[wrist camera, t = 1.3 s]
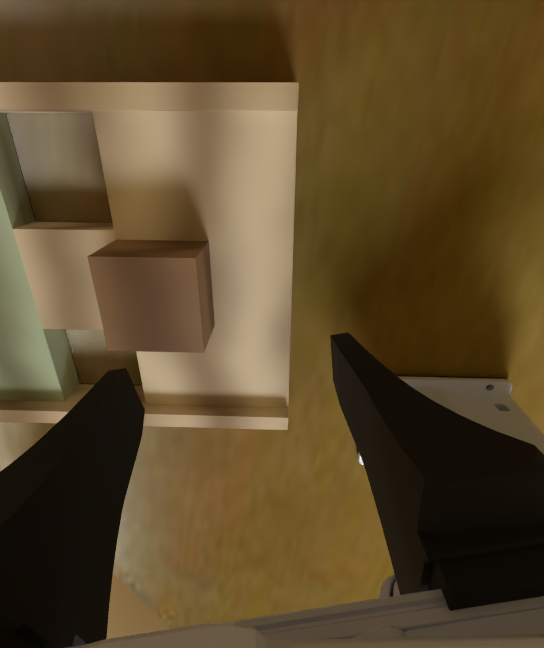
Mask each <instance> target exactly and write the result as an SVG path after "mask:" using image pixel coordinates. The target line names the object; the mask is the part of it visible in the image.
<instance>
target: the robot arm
mask: <svg viewBox="0 0 544 648" xmlns="http://www.w3.org/2000/svg"><path fill="white" fill-rule="evenodd" d="M331 351H332V368H333V381H334V385H335V388H336V392H337V396H338V399H339V403H340V406H341V409H342V411H343V414H344V416H345V419H346V421H347V424H348V426H349V429H350V431H351V433H352V436H353V438H354V441H355V443H356V446H357V448H358V461H359V463H360V464H362V465H364V466H365V469H366V472H367V476H368V479H369V482H370V486H371V489H372V493H373V496H374V499H375V503H376V507H377V510H378V514H379V517H380V521H381V524H382V528H383V532H384V535H385V539H386V543H387V546H388V550H389V554H390V557H391V561H392V565H393V569H394V573H395V574H393V575H391V576H389V577H388V578H387V579H386V580H385V581H384V582H383V585H382V587H381V592H380V598H379V599H373V600H366V601H360V602H354V603H347V604H341V605H334V606H328V607H322V608H315V609H309V610H303V611H296V612H290V613H284V614H277V615H271V616H264V617H258V618H252V619H245V620H239V621H233V622H222V623H207V624H201V625H194V626H188V627H182V628H175V629H169V630H163V631H157V632H150V633H143V634H137V635H131V636H125V637H118V638H112V639H106V636H107V623H108V611H109V601H110V592H111V582H112V574H113V566H114V559H115V551H116V544H117V537H118V531H119V525H120V519H121V513H122V508H123V504H124V500H125V495H126V492H127V488H128V485H129V481H130V477H131V474H132V470H133V467H134V463H135V460H136V456H137V452H138V448H139V445H140V441H141V437H142V430H143V423H144V414H145V409H144V406H143V404H142V402H141V400H140V398H139V396H138V393H137V391H136V389H135V387H134V385H133V383H132V380H131V378H130V376H129V374H128V372H127V370H126V368H125V369H119V370H112V371H108V372H107V373H106V374H105V375H104V376H103V377H102V378H101V379H100V380H99V381H98V382H97V383H96V384H95V385H94V386H93V387H92V388H91V389H90V390H89V391H88V392H87V393H86V394H85V396H84V397H83V398H82V399H81V400H80V401H79V402H78V403H77V404H76V405H75V406H74V407H73V408H72V409H71V410H70V411H69V412H68V413H67V414H66V415H65V416H64V417H63V418H62V419H61V420H60V421H59V422H58V423H57V424H56V425H55V426H54V427H52V428H51V429H50V430H49V431H48V432H47V433H46V434H45V435H44V436H43V437H42V438H41V439H40V440H39V441H38V442H36V443H35V444H34V445H33V446H32V447H31V448H30V449H28V450H27V451H26V452H25V453H24V454H22V455H21V456H20V457H19V458H17V459H16V460H15V461H14V462H13V463H11V464H10V465H9V466H7V467H6V468H5V469H3V470H2V471H1V472H0V648H544V434H543V433H542V432H541V431H540V430H539V429H538V428H537V426H536V425H535V424H534V423H533V422H532V421H531V420H530V418H529V417H528V416H527V415H526V414H525V413H524V411H523V410H522V409H521V408H520V407H519V406H518V405H517V403H516V402H515V401H514V400H513V399H512V398H511V397H510V396H509V395H510V393H511V390H512V384H511V382H510V381H508V380H507V379H484V378H443V377H401V376H396V375H395V374H394V373H392V372H391V371H390V370H389V369H387V368H386V367H385V366H384V365H383V364H381V363H380V362H379V361H378V360H377V359H376V358H375V357H373V356H372V355H371V354H370V353H369V352H368V351H367V350H366V349H365V348H364V347H363V346H362V345H361V344H360V343H359V342H358V341H357V340H356V339H355V338H354V337H353V336H352V335H350V334H349V333H343V334H337V335H331ZM488 385H490V386H489V387H487V386H488Z"/></svg>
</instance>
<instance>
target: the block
mask: <svg viewBox="0 0 544 648" xmlns="http://www.w3.org/2000/svg"><path fill="white" fill-rule="evenodd" d="M87 258H88V262H89V267H90V271H91V276H92V280H93V285H94V289H95V294H96V298H97V303H98V307H99V312H100V316H101V321H102V325H103V330H104V334H105V339H106V343H107V348H108V351H144V352H188V353H204V352H205V349H206V346H207V344H208V341H209V339H210V336H211V334H212V331H213V328H214V326H215V321H214V307H213V293H212V279H211V265H210V251H209V241H175V240H115V241H113V242H111V243H109V244H108V245H106V246H104V247H103V248H101V249H99V250H98V251H96V252H94V253H92V254H91V255H89V256H87Z"/></svg>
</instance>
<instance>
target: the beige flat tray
mask: <svg viewBox="0 0 544 648" xmlns="http://www.w3.org/2000/svg"><path fill="white" fill-rule="evenodd" d="M298 90H299V82H0V422H28V423H58V422H59V421H60V420H61V419H62V418H63V417H64V416H65V415H66V414H67V413H68V412H69V411H70V410H71V409H72V408H73V407H74V406H75V405H76V404H77V403H78V402H79V401H80V400H81V399H82V398H83V397H84V396H85V394H86V393H87V392H88V391H89V390H90V389H91V388H92V387H93V386H94V384H80V383H79V380H78V376H77V372H76V369H75V365H74V361H73V358H72V354H71V350H70V347H69V343H68V339H67V336H66V332H65V329H71V330H103V325H102V321H101V316H100V312H99V307H98V303H97V298H96V294H95V289H94V285H93V280H92V276H91V271H90V267H89V262H88V258H87V256H89V255H91V254H92V253H94V252H96V251H98V250H99V249H101V248H103V247H104V246H106V245H108V244H109V243H111V242H113V241H115V240H175V241H209V251H210V265H211V279H212V293H213V307H214V321H215V326H214V328H213V331H212V334H211V336H210V339H209V341H208V344H207V346H206V349H205V352H204V353H188V352H144V351H136V353H137V358H138V364H139V369H140V375H141V380H142V386H134V387H135V389H136V391H137V393H138V396H139V398H140V400H141V402H142V404H143V406H144V409H145V414H144V423H143V426H167V427H202V428H237V429H271V430H288V398H289V365H290V333H291V300H292V267H293V235H294V202H295V169H296V137H297V111H298ZM6 113H93V118H94V124H95V129H96V135H97V140H98V145H99V151H100V156H101V162H102V167H103V173H104V178H105V184H106V189H107V195H108V200H109V206H110V211H111V216H112V222H113V223H110V222H35V219H34V215H33V212H32V208H31V205H30V201H29V197H28V194H27V190H26V186H25V183H24V179H23V175H22V172H21V168H20V164H19V161H18V157H17V153H16V150H15V146H14V143H13V139H12V135H11V132H10V128H9V124H8V121H7V117H6Z"/></svg>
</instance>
